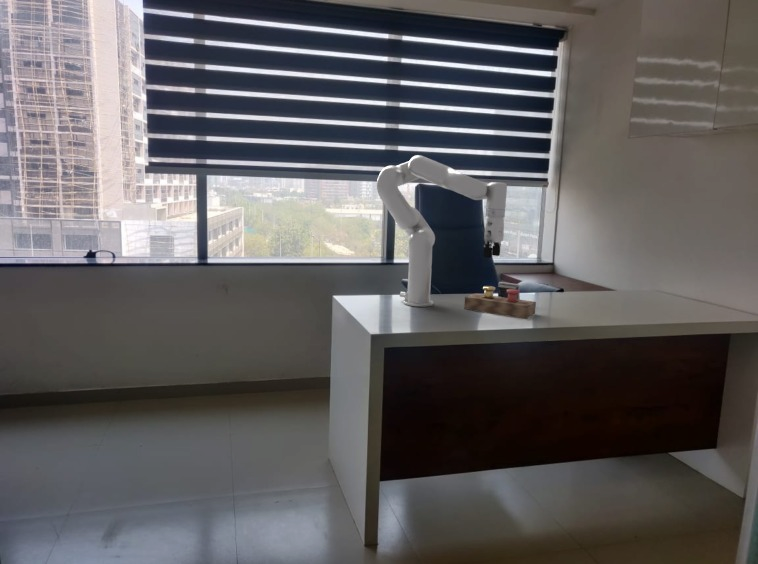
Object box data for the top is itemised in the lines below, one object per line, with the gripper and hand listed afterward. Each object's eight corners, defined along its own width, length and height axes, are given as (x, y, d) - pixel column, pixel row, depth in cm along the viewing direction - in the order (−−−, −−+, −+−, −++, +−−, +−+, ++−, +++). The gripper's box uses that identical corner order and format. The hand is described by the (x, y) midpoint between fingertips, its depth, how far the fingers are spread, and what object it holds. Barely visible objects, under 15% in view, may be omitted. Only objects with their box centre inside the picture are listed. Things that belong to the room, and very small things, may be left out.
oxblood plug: (503, 305, 222) (504, 290, 221) (507, 303, 226) (509, 288, 225) (515, 307, 219) (517, 292, 218) (519, 305, 223) (521, 290, 222)
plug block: (464, 308, 228) (464, 296, 227) (474, 304, 237) (475, 293, 236) (526, 318, 214) (527, 306, 213) (534, 314, 223) (536, 301, 223)
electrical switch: (519, 304, 243) (520, 283, 241) (515, 307, 239) (516, 286, 237) (499, 301, 248) (500, 280, 246) (495, 303, 244) (495, 283, 242)
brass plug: (480, 302, 227) (481, 287, 226) (484, 300, 231) (485, 285, 230) (491, 303, 224) (492, 288, 223) (496, 301, 229) (497, 287, 227)
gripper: (496, 214, 213) (492, 259, 216) (511, 213, 227) (507, 255, 230) (478, 213, 217) (474, 257, 219) (493, 212, 231) (490, 253, 234)
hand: (491, 256), depth 225 cm, fingers open, 8 cm apart
